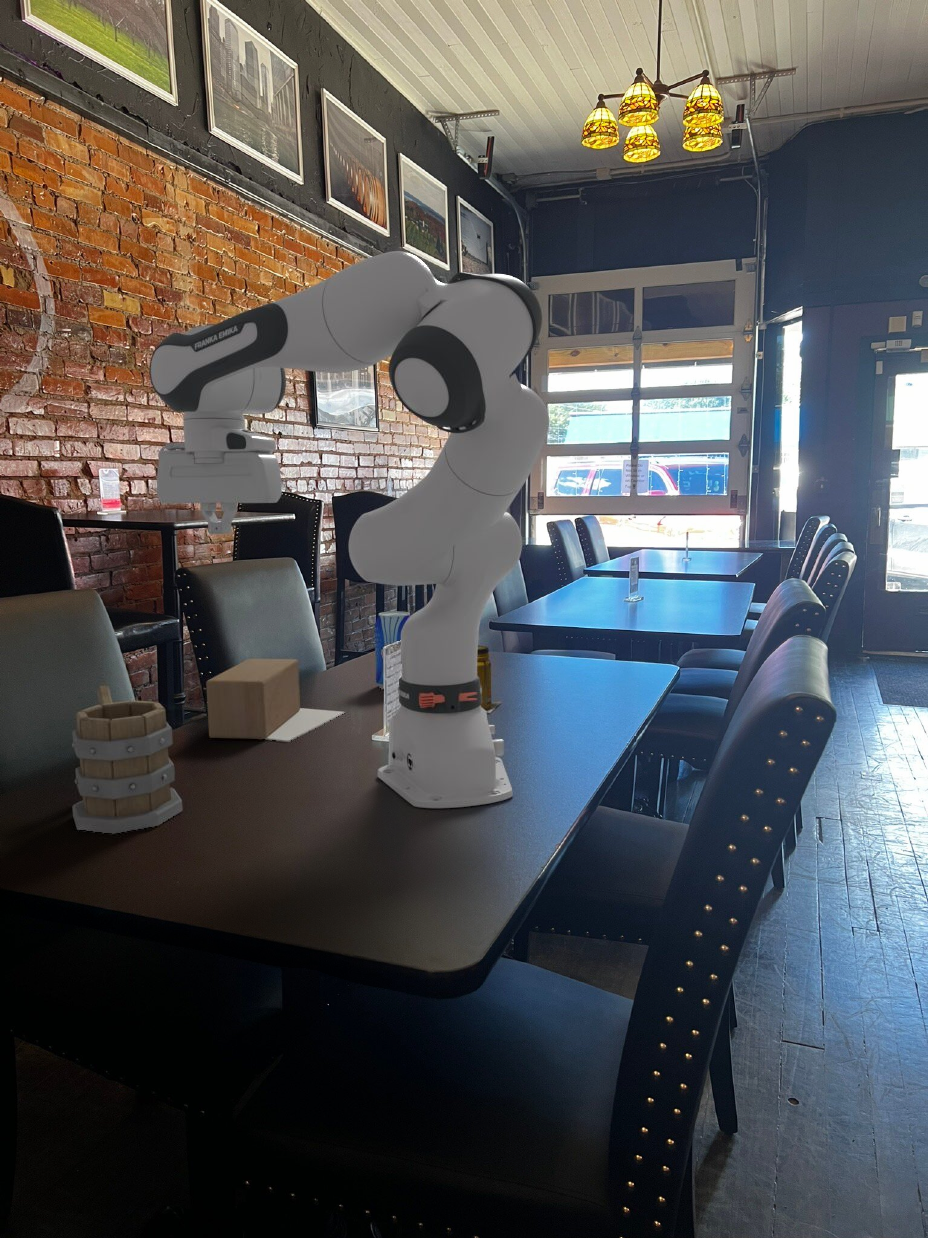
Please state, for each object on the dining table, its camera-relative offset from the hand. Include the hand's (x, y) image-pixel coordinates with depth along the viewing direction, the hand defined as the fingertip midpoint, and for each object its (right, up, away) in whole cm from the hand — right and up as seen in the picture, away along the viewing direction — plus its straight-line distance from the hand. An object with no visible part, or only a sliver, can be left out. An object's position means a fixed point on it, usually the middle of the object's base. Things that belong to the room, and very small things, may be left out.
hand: (220, 534), depth 129 cm
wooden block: (-2, -28, +14) cm, 31 cm away
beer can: (+22, -28, +54) cm, 65 cm away
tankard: (-8, -38, -15) cm, 42 cm away
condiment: (+40, -30, +36) cm, 61 cm away
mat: (+4, -32, +25) cm, 41 cm away
